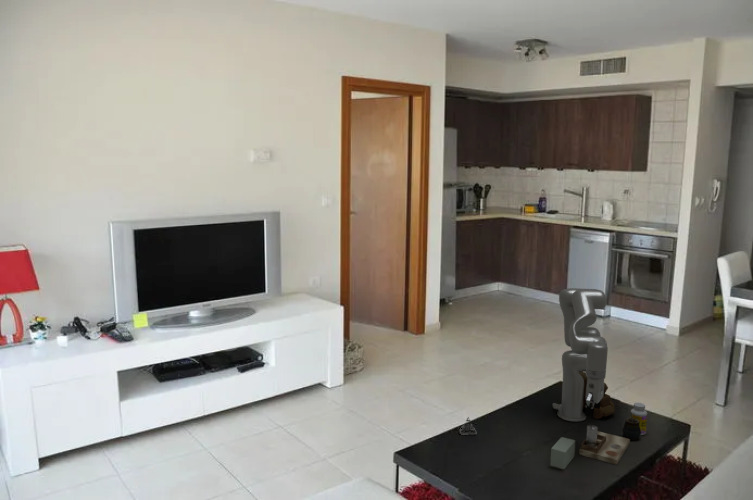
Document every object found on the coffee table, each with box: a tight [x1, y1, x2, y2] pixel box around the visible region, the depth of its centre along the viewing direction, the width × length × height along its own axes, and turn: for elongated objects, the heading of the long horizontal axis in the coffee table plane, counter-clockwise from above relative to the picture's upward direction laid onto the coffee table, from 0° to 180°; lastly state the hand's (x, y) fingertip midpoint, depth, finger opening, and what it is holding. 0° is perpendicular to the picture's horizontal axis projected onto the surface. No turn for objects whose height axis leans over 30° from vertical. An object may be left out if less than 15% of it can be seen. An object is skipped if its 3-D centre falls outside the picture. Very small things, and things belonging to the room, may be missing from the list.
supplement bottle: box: [629, 402, 648, 436], centre depth 268 cm, size 7×7×13 cm
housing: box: [550, 436, 576, 470], centre depth 243 cm, size 6×12×7 cm, turn 145°
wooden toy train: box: [579, 372, 616, 420], centre depth 289 cm, size 20×11×17 cm, turn 36°
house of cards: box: [459, 417, 478, 436], centre depth 269 cm, size 9×9×8 cm
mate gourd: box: [622, 411, 641, 441], centre depth 263 cm, size 7×8×10 cm
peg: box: [585, 424, 598, 448], centre depth 250 cm, size 4×4×9 cm
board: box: [578, 430, 631, 465], centre depth 253 cm, size 15×22×4 cm
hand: (592, 412), depth 249 cm, fingers open, 9 cm apart
